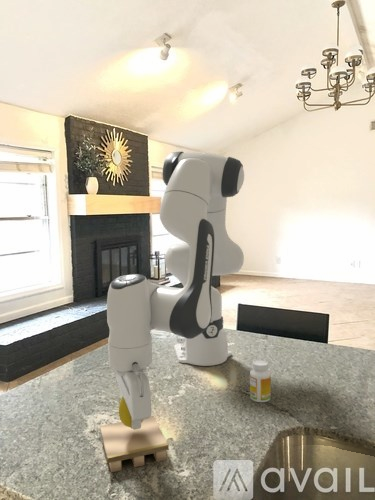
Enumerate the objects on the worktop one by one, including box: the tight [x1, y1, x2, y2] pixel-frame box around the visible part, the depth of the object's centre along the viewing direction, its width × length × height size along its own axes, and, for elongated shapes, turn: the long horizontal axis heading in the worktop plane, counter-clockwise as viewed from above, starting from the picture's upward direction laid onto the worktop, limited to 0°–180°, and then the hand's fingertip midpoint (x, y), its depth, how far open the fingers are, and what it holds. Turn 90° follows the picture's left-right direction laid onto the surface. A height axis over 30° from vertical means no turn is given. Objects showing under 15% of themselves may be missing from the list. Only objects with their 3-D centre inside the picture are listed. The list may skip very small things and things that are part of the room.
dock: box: [99, 415, 170, 473], centre depth 82 cm, size 12×12×3 cm
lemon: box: [118, 396, 143, 428], centre depth 82 cm, size 6×6×8 cm
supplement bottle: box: [249, 359, 272, 403], centre depth 103 cm, size 5×5×10 cm
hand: (132, 418), depth 82 cm, fingers closed on lemon, 5 cm apart
